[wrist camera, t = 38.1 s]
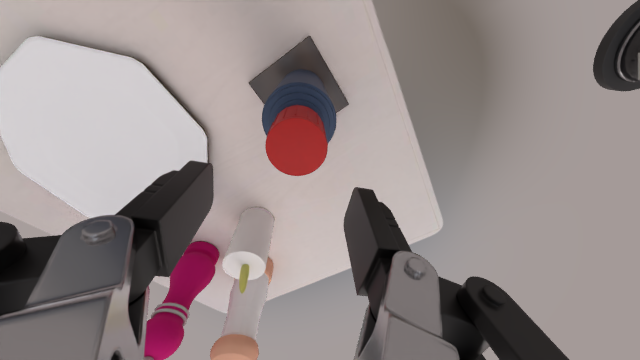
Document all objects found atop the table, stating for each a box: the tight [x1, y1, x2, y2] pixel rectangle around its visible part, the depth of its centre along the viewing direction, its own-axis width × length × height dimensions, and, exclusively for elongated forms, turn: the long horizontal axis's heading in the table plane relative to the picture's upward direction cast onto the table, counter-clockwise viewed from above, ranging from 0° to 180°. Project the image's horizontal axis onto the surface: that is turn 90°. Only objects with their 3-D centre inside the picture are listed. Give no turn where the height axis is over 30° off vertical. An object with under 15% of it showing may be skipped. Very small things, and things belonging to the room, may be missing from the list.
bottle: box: [262, 69, 336, 143], centre depth 24 cm, size 6×6×20 cm
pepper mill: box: [144, 241, 219, 360], centre depth 38 cm, size 7×7×20 cm
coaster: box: [249, 36, 349, 113], centre depth 32 cm, size 10×10×1 cm
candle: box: [222, 207, 274, 293], centre depth 37 cm, size 6×6×15 cm
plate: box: [0, 36, 208, 218], centre depth 35 cm, size 28×28×2 cm
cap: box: [266, 105, 328, 176], centre depth 16 cm, size 4×4×4 cm
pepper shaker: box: [210, 257, 273, 360], centre depth 41 cm, size 7×7×19 cm
